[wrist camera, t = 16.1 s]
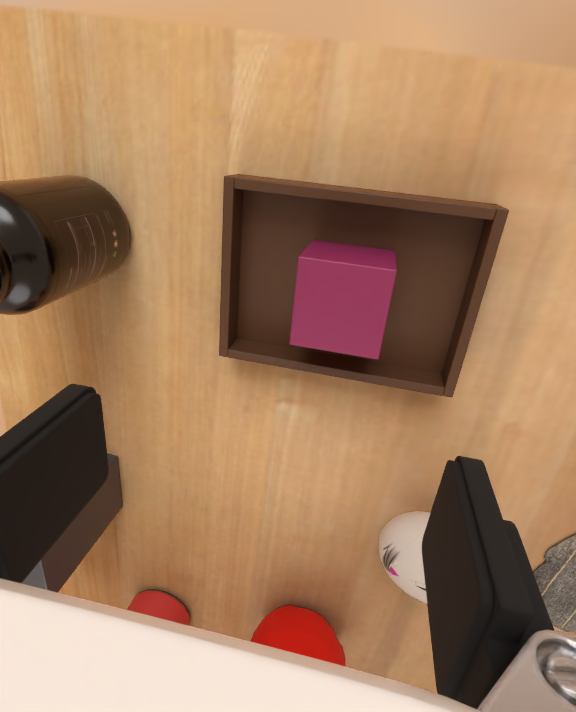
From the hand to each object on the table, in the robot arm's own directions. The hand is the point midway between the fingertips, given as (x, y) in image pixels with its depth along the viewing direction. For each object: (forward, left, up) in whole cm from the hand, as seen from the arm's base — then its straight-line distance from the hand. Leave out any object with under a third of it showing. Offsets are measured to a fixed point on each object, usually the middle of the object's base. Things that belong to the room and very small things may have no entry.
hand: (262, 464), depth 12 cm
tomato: (+19, -30, -19) cm, 40 cm away
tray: (+1, 0, -19) cm, 19 cm away
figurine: (+18, -11, -19) cm, 28 cm away
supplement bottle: (-16, -8, -19) cm, 26 cm away
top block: (+1, 0, -18) cm, 18 cm away
